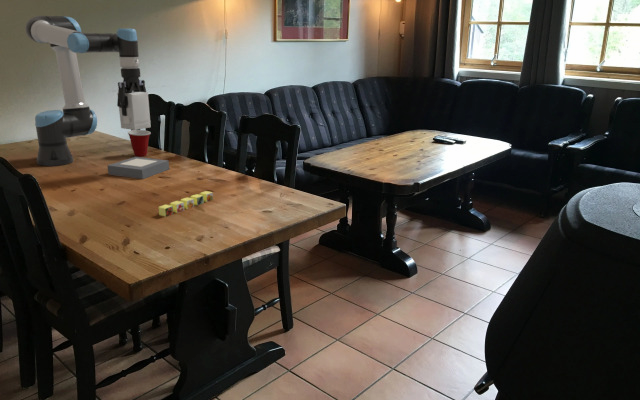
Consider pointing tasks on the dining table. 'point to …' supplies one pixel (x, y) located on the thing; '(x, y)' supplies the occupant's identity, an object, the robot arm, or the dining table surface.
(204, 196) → the row of toy blocks
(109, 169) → the plinth
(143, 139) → the plastic cup
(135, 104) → the supplement box
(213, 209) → the dining table surface
